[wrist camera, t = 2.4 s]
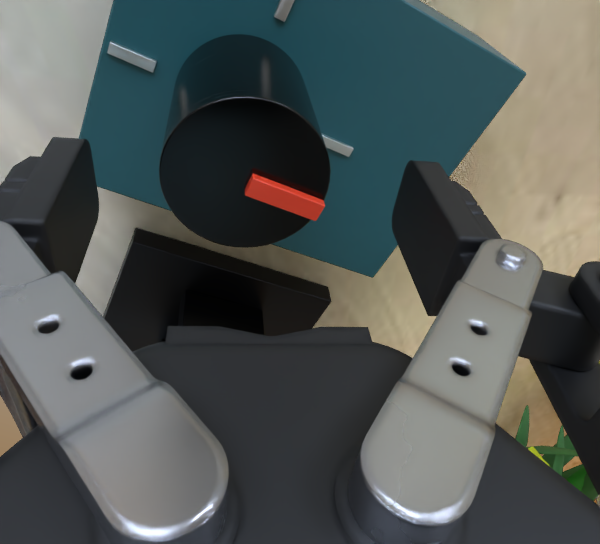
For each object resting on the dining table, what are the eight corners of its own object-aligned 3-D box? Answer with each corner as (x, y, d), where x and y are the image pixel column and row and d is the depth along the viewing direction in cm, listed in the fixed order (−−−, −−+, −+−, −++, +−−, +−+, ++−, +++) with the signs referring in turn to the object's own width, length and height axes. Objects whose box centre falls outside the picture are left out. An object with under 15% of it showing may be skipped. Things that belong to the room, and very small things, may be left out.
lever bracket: (93, 342, 30) (23, 614, 19) (135, 227, 25) (72, 506, 14) (263, 379, 34) (281, 620, 23) (328, 286, 29) (387, 538, 18)
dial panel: (93, 123, 21) (67, 180, 18) (166, -153, 16) (150, -152, 12) (353, 221, 26) (374, 280, 23) (477, 35, 21) (530, 75, 17)
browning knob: (156, 135, 17) (135, 225, 13) (201, 6, 15) (192, 68, 11) (273, 180, 19) (286, 272, 15) (330, 71, 16) (364, 145, 12)
